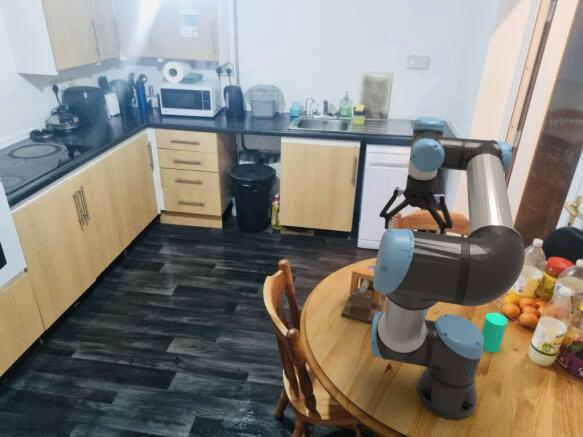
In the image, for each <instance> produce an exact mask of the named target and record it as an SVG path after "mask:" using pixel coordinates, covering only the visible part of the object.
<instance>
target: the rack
mask: <svg viewBox="0 0 583 437" xmlns="http://www.w3.org/2000/svg"><path fill="white" fill-rule="evenodd" d="M367 270H371V271H374V270H375V265H369V266H368V268H367ZM359 280H360V282H359V287H358V288H356V287H355V288H354V290H353V293H352V296H350V295H349V296H348V298H347V300H346V303H345V305H344V307H343V309H342V310H341V316H340V317H342V318H347V319H350V320H355V321H358V322H361V323H362V322H363V323H366V324H369V325H372V323H373V319H374V316H375V314H376V313H377V312H382V311H383V308H384V305H385V302H386V301H387V297H386V295H385V294H383V293H381V296H380V300H379V303H376V302H373V295H374V287H373V281H369V280H365V279H361V278H359Z"/></svg>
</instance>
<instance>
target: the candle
mask: <svg viewBox="0 0 583 437" xmlns="http://www.w3.org/2000/svg"><path fill="white" fill-rule="evenodd" d="M508 321H509V320H508V318H507V317H506V316H504V314H501V313H499V312H490V313H489V312H488V313H486V314H485V319H484V321H483V326H482V330H481V333H482V335H483V338H484V345H483V351H486V352H488V353H498V352H499V351H500V349H501V345H502V342H503V338H504V334H505V331H506V328H507V324H508Z"/></svg>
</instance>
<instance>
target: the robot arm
mask: <svg viewBox="0 0 583 437" xmlns="http://www.w3.org/2000/svg"><path fill="white" fill-rule="evenodd" d="M444 129H445V121H444V120H443V119H442V118H438V117H435V116H433V117H432V116H421V117H418V118H416V119H415V121H414V125H413V129H412V137H411V145H410V146H411V147H410V153H409V154H410V156H409V161H408V170H407V177H406V185H405V189H401V188H400V187H399V186H396V187H395V188H394V190H393V194H392V196H391V197H389V198H390V199H389V200H388V201H387V203H386V204H385V205H384V207H383V208H382V210H381V211H380V212H379V214H378V215H379V217H380V218H383V219H384V229H385V231H384V232H383V233H382V237H381V239H380V242H379V246H378V251H377V255H376V260H375V265H374V267H375V270H374V277H373V287H374V289H375V290H376V291H378V292H381V293H382V294H385V295H386V304H385V305H386V306H385V310H384V311H383V310H382V311H381V312H377V313H376V314H375V316H374V319H373V323H372V324H371V332H370V333H371V334H370V350H371V353H372V355H373V356H374V357H377V358H380V359H382V360H383V361H384V360H385V361H386V360H388V361H393V362H398V363H399V362H400V363H404V364H405V363H406V364H410V365H413V366H419V367H424V369H423V371H422V372H421V374H420V375H419V376H418V379H417V383H416V389H415V390H416V394H417V398H418V400H419V401H420V403H421V404H422V406H424V407H425V408H426V409H427V410H428V411H429V412H431V413H432V414H434V415H435V416H438V417H440V418H444V419H448V420H463V419H466V418H468V417H470V416H471V415H472V414H473V413H474V411H475V410H476V407H477V403H478V393H477V388H476V381H475V379H476V377H477V374H478V369H479V365H480V361H481V358H482V357H483V355H484V354H483V353H484V349H483V345H484V338H483V335H482V330H480V329H479V327H478V326H477V325H476V324H474V322H472V321H471V320H469V319H467V318H466V317H463V316H460V315H458V314H452V313H445V314H442V315H440V316H438V317H437V318H436V320H430V319H427V313H428V311H429V309H431V308H432V307H434V306H435V305H436V304H437V303H445V304H452V305H458V306H463V307H480V306H483V305H484V306H485V305H488V304H490V303H493V302H495V301H496V300H498V299H499V298H501V297H503V296H504V295H506V294H507V293H508V292H509V291H510V290H511V289H512V287H514V285H515V284H516V283H517V281H518V279H520V275H521V273H522V271H523V268H524V265H525V259H526V258H525V257H526V252H525V251H526V250H525V246H524V240H523V237H522V236H521V234H520V233H519V232H518V231H517V230H516V229H515V226H514V221H513V215H512V210H511V204H510V199H509V195H508V189H507V182H506V177H505V174H506V173H507V172H508V171H509V169H510V166H511V162H512V157H513V156H512V155H513V152H512V151H513V147H512V145H511V144H510V143H509V142H507V141H500V140H495V139H491V140H490V139H475V138H474V139H472V138H463V137H462V138H461V137H460V138H459V137H449V136H444V133H445V130H444ZM438 169H441V170H442V169H443V170H455V171H462V172H463V171H464V172H465V173H466V188H467V189H466V190H467V203H468V204H467V206H468V221H469V233H468V234H467V235H466V236H459V235H458V236H457V235H452V234H451V235H450V234H445V230H446V229H447V230H448V229H449V230H451V229H453V224H454V223H453V220H452V217H451V215H450V212H449V208H448V207H447V203H446V194H445V193H444V192H443V193H441V194H435V186H436V181H437V178H436V176H437V174H438ZM401 195H403V197H404V199H403V201H402V202H400V203H399V204H398V205H396V206H395V207H394V208H393V209H392V210H390V211H389V209H390V208H391V206H392V205H393V204H394V203H395V201H396V200H397V198H398V197H401ZM434 200H436V202H437V204H439V207H440V210H441V212H442V216H443V218H444V219H443V218H442V216H441V215H440V214H439V212H438V210H437V209H436V207H434V204H433V203H432V202H433V201H434ZM408 206H410V207H411V208H419V209H426V211H428V212H429V214H430V215H431V217H432V218H433V220H434V221H435V223H436V224H437V225H438V226H437V230H436V233H433V232H425V231H418V230H411V229H410V228H393V222H394V216H396V215H397V214H398V213H400V212H401V211H402V210H403V209H405V208H406V207H408ZM388 211H389V212H388ZM387 212H388V213H387Z"/></svg>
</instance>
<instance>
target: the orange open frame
mask: <svg viewBox="0 0 583 437" xmlns="http://www.w3.org/2000/svg"><path fill="white" fill-rule="evenodd" d="M373 277H374V271H371V270H368V269H366V268H361V267H357V266H354V267H353V269H352V270H351V280H350V288H349V296H352V293H353V290H354V288H355V287H356V288H359V284H360V282H359V280H360V279H365V280H369V281H373ZM380 296H381V292H378V291H376V290H375V289H374V295H373V302H376V303H379V300H380Z"/></svg>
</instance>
